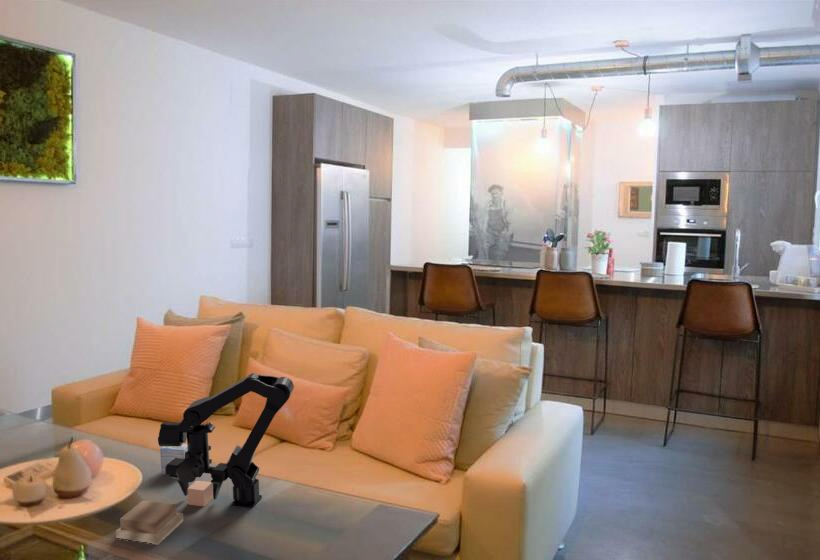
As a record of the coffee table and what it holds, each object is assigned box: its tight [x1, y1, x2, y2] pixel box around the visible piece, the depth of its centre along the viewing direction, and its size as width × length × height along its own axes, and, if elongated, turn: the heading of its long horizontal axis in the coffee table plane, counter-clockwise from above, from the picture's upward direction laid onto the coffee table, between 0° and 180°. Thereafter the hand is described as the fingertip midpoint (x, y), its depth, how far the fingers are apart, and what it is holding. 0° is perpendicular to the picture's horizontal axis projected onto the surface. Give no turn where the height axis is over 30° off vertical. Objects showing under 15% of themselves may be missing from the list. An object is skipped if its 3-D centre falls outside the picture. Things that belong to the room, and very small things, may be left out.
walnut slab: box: [119, 499, 177, 534], centre depth 182 cm, size 10×10×3 cm
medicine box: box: [159, 443, 188, 475], centre depth 216 cm, size 8×4×9 cm, turn 84°
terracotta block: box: [187, 480, 214, 507], centre depth 198 cm, size 5×5×5 cm
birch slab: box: [115, 511, 184, 546], centre depth 183 cm, size 12×12×3 cm
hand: (200, 497), depth 198 cm, fingers open, 9 cm apart
